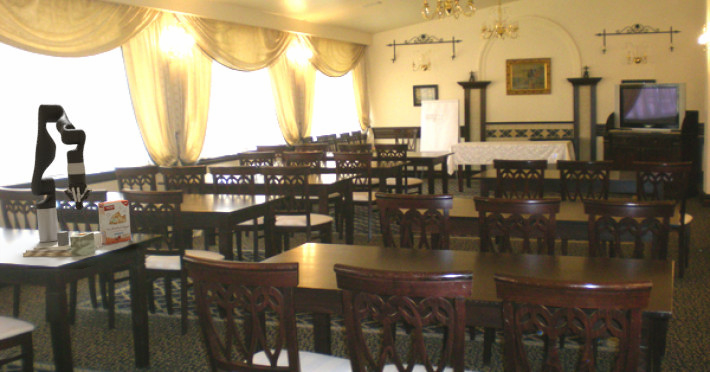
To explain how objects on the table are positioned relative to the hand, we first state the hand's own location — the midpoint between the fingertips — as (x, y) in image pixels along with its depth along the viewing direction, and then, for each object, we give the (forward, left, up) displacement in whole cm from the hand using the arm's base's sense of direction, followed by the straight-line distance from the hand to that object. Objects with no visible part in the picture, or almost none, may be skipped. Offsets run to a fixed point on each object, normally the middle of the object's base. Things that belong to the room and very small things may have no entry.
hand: (79, 209), depth 298 cm
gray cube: (0, -9, -18) cm, 20 cm away
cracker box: (-26, +3, -21) cm, 33 cm away
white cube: (-16, -3, -21) cm, 26 cm away
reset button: (0, 0, -16) cm, 16 cm away
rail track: (0, -12, -21) cm, 24 cm away
